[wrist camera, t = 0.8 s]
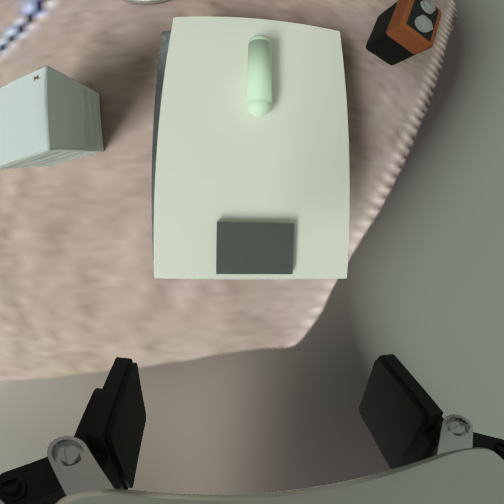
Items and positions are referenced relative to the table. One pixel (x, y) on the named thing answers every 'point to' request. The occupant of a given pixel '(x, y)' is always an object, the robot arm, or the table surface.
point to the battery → (404, 30)
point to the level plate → (252, 152)
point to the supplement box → (48, 120)
